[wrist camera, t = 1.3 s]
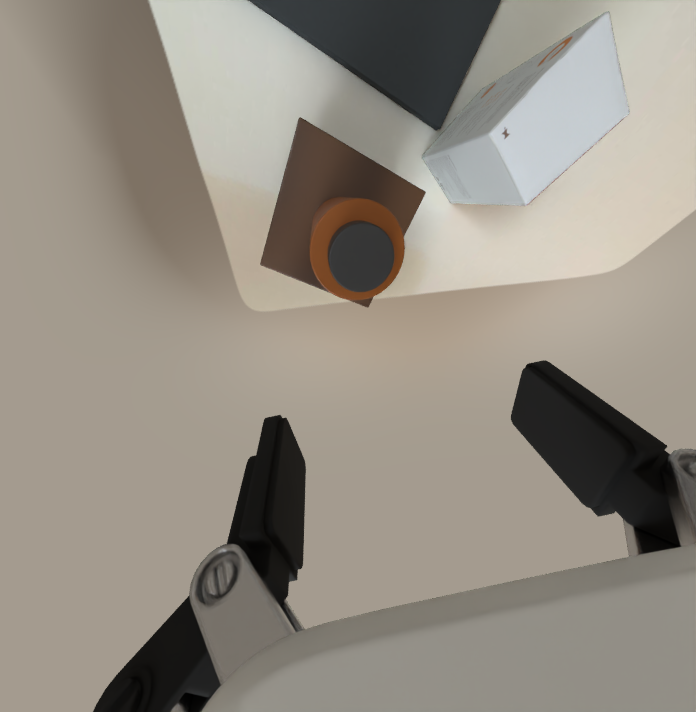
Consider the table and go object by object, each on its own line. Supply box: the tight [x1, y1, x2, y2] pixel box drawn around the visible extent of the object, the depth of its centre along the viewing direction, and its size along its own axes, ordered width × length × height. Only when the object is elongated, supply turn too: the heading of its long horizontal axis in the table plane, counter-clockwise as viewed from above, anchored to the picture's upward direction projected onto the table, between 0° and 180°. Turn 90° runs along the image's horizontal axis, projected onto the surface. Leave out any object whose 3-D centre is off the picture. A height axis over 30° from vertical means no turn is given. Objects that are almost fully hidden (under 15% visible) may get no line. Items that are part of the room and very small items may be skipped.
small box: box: [422, 11, 630, 206], centre depth 23 cm, size 8×6×13 cm
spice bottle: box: [310, 197, 405, 300], centre depth 15 cm, size 4×4×11 cm
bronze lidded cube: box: [260, 118, 425, 307], centre depth 25 cm, size 10×10×12 cm
